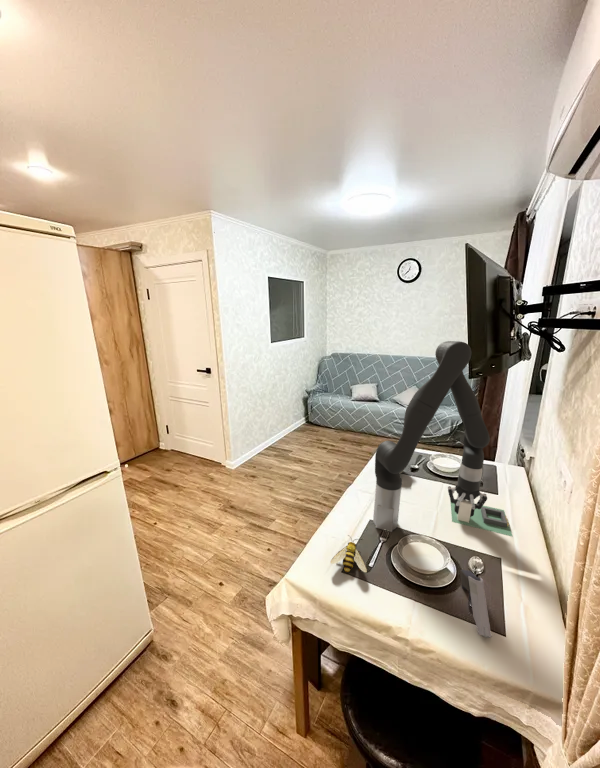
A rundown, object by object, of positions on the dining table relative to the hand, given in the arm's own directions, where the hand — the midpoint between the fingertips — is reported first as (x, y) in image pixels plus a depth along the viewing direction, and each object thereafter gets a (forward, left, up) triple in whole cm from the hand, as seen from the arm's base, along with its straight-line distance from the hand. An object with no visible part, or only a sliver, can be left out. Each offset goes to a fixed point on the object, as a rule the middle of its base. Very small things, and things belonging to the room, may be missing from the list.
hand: (463, 514), depth 122 cm
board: (+4, -6, -3) cm, 8 cm away
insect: (-36, +36, -3) cm, 51 cm away
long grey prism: (-39, 0, -3) cm, 39 cm away
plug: (0, 0, -2) cm, 2 cm away
